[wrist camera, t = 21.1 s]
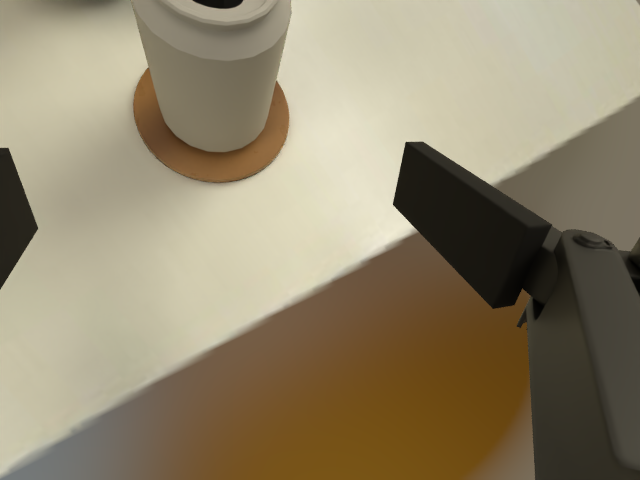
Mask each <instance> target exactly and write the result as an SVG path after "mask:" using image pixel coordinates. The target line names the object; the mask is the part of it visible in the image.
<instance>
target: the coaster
mask: <svg viewBox="0 0 640 480" xmlns="http://www.w3.org/2000/svg"><path fill="white" fill-rule="evenodd" d="M133 106H134V117H135V122H136V125H137V128H138V131H139V133H140V135H141V137H142V139H143V141H144V143H145V144H146V146H147V147H148V148H149V150H150V151H151V152H152V153H153V154H154V155H155V156H156V158H157V159H159V160H160V161H161V162H162V163H163V164H165V165H166V166H168V167H169V168H171V169H172V170H174V171H176V172H178V173H180V174H182V175H184V176H187V177H190V178H193V179H196V180H201V181H206V182H230V181H236V180H240V179H244V178H247V177H249V176H251V175H254V174H256V173H257V172H259V171H261V170H262V169H264V168H265V167H266V166H268V165H269V164H270V163H271V162H272V161H273V160H274V159H275V158H276V156H277V155H278V153H279V152H280V151H281V149H282V147H283V145H284V142H285V139H286V136H287V133H288V128H289V109H288V105H287V101H286V98H285V95H284V93H283V91H282V89H281V87H280V85H279V84H278V82H277V81H276V83H275V88H274V92H273V96H272V101H271V105H270V109H269V114H268V117H267V120H266V124H265V127H264V129H263V130H262V131H261V133H260V134H259V135H258V137H257V138H256V139H255V140H254V141H252V142H251V143H249V144H247V145H246V146H244V147H243V148H240V149H236V150H232V151H228V152H208V151H205V150H202V149H199V148H196V147H193V146H190V145H189V144H187V143H186V142H184V141H183V140H181V139H180V138H178V137H177V136H176V135H175V134H174V133H173V132H172V131H171V129H170V128H169V127H168V126H167V124H166V123H165V121H164V118H163V116H162V113H161V110H160V107H159V104H158V100H157V96H156V92H155V89H154V85H153V81H152V77H151V74H150V70H149V67H148V68H147V70H146V71H145V72H144V74H143V75H142V77H141V79H140V81H139V83H138V85H137V88H136V91H135V95H134V103H133Z"/></svg>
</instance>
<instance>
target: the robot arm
mask: <svg viewBox="0 0 640 480" xmlns="http://www.w3.org/2000/svg"><path fill="white" fill-rule="evenodd" d="M393 205H394V206H395V207H396V209H397V210H398V211H399V212H400V213H401V214H402V215H403V216H404V217H405V218H406V219H407V220H408V221H409V222H410V223H411V224H412V225H413V226H414V227H415V228H416V229H417V230H418V231H419V232H420V233H421V235H423V237H424V238H425V239H426V240H427V241H428V242H429V243H430V244H431V245H432V246H433V247H434V248H435V249H436V250H437V251H438V252H439V253H440V254H441V255H442V256H443V257H444V258H445V259H446V260H447V262H448V263H449V264H450V265H452V267H453V268H455V270H456V271H457V272H458V273H459V274H460V275H461V276H462V277H463V278H464V279H465V280H466V281H467V282H468V283H469V284H470V285H471V286H472V287H473V288H474V290H475V291H477V293H478V294H479V295H480V296H481V297H482V298H483V299H484V300H485V301H486V302H487V303H488V304H489V305H490V306H491V307H492V308H493V309H494V308H500V307H506V306H512V305H514V304H515V303H516V300H517V298H518V296H519V294H520V292H521V290H522V288H523V289H524V290H525V291H526V292H527V293H528V294H529V295H531V297H530V299H529V301H528V303H527V305H526V307H525V309H524V311H523V313H522V315H521V317H520V319H519V321H518V325H517V327H520V328H521V326H522V324H523V323H525V322H527V333H528V352H529V370H530V389H531V408H532V425H533V444H534V463H535V480H640V238H639V240H638V241H637V243H636V244H635V246H634V248H633V249H632V251H631V252H630V251H620V250H618V249H617V248H616V247H615V246H614V244H612V243H611V242H610V241H609V240H607V239H605V238H603V237H600V236H599V235H597V234H594V233H591V232H587V231H582V230H566V231H563V233H562V232H560V231H559V230H557V229H556V228H554V227H553V226H552V224H550V223H549V222H547V221H546V220H544V219H542V218H541V217H539V216H538V215H536V214H535V213H533V212H532V211H530V210H528V209H527V208H525V207H524V206H522V205H521V204H519V203H517V202H516V201H514V200H513V199H511V198H510V197H508V196H506V195H505V194H503V193H502V192H500V191H499V190H497V189H496V188H494V187H493V186H491V185H489V184H488V183H486V182H485V181H483V180H482V179H480V178H479V177H477V176H475V175H474V174H472V173H471V172H469V171H468V170H466V169H464V168H463V167H461V166H460V165H458V164H457V163H455V162H454V161H452V160H450V159H449V158H447V157H446V156H444V155H443V154H441V153H440V152H438V151H436V150H435V149H433V148H432V147H430V146H429V145H427V144H425V143H424V142H406V143H405V148H404V153H403V158H402V163H401V168H400V173H399V177H398V182H397V187H396V192H395V197H394V202H393ZM37 230H38V227H37V224H36V221H35V218H34V216H33V213H32V210H31V208H30V205H29V202H28V199H27V197H26V194H25V191H24V189H23V186H22V183H21V181H20V178H19V175H18V172H17V170H16V167H15V164H14V162H13V159H12V156H11V153H10V151H9V148H0V289H1V287H2V286H3V284H4V283H5V281H6V279H7V278H8V276H9V275H10V273H11V271H12V270H13V268H14V267H15V265H16V263H17V262H18V260H19V259H20V257H21V255H22V254H23V252H24V250H25V249H26V247H27V246H28V244H29V242H30V241H31V239H32V238H33V236H34V234H35V233H36V231H37Z"/></svg>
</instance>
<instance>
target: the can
mask: <svg viewBox="0 0 640 480" xmlns="http://www.w3.org/2000/svg"><path fill="white" fill-rule="evenodd" d="M131 3H132V6H133V10H134V14H135V18H136V21H137V25H138V29H139V33H140V36H141V40H142V44H143V48H144V51H145V55H146V59H147V62H148V66H149V70H150V74H151V77H152V81H153V85H154V89H155V92H156V96H157V100H158V104H159V107H160V110H161V113H162V116H163V118H164V121H165V123H166V124H167V126H168V127H169V128H170V129H171V131H172V132H173V133H174V134H175V135H176V136H177V137H178V138H180V139H181V140H183V141H184V142H186V143H187V144H189V145H190V146H193V147H196V148H199V149H202V150H205V151H208V152H228V151H232V150H236V149H240V148H243V147H244V146H246V145H247V144H249V143H251V142H252V141H254V140H255V139H256V138H257V137H258V135H259V134H260V133H261V131H262V130H263V129H264V127H265V124H266V120H267V117H268V114H269V109H270V105H271V101H272V96H273V92H274V88H275V83H276V79H277V74H278V70H279V66H280V61H281V57H282V53H283V48H284V44H285V39H286V35H287V31H288V26H289V22H290V18H291V0H131Z"/></svg>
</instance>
